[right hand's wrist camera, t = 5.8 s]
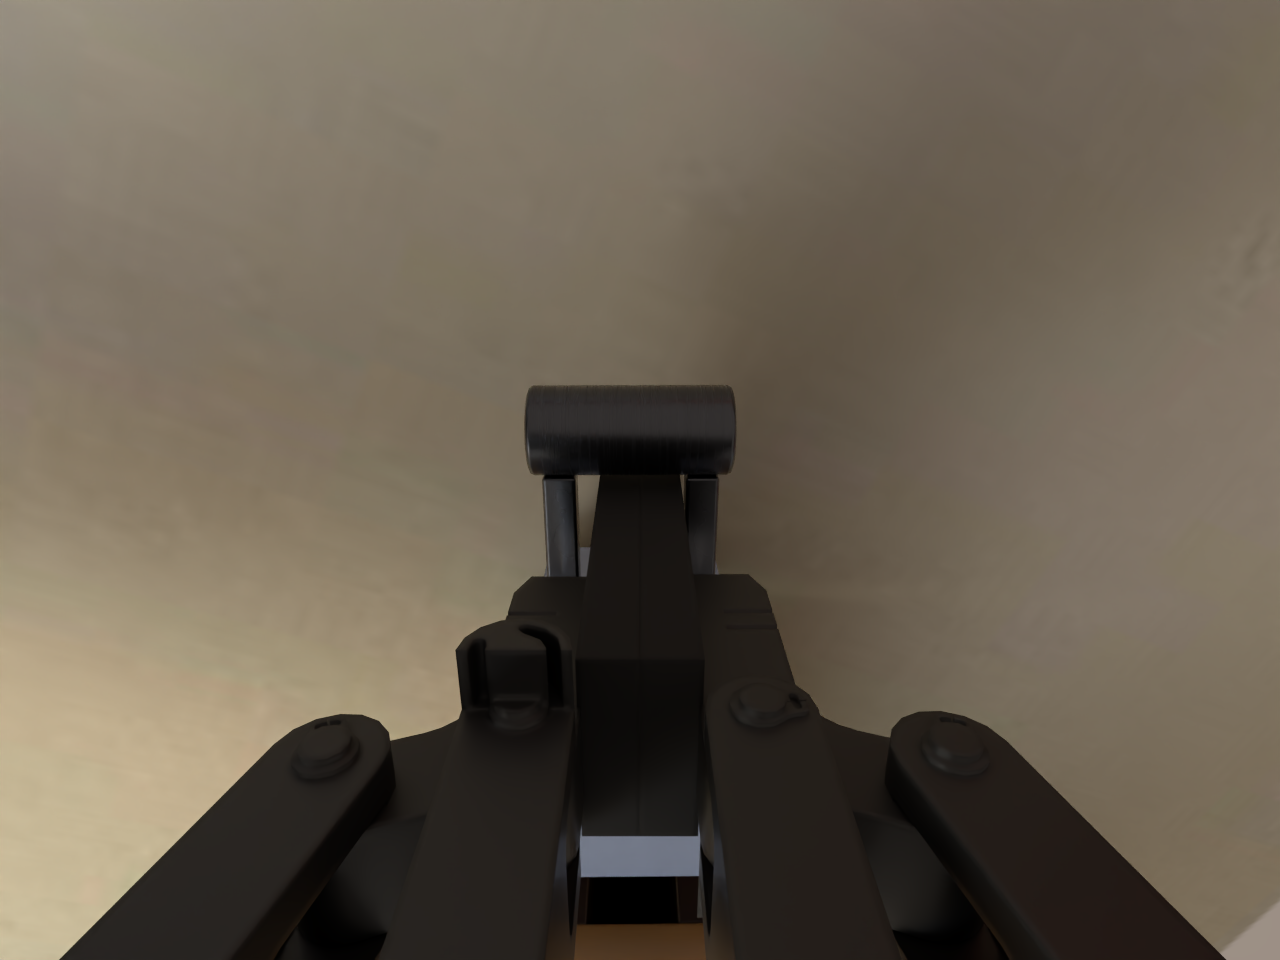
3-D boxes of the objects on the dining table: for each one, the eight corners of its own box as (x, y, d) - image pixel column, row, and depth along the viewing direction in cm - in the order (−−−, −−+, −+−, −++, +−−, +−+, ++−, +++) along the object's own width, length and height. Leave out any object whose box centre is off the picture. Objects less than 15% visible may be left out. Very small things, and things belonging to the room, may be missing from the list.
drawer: (539, 334, 17) (453, 475, 9) (722, 334, 18) (805, 474, 9) (573, 1005, 26) (545, 1392, 18) (693, 1003, 26) (723, 1390, 18)
